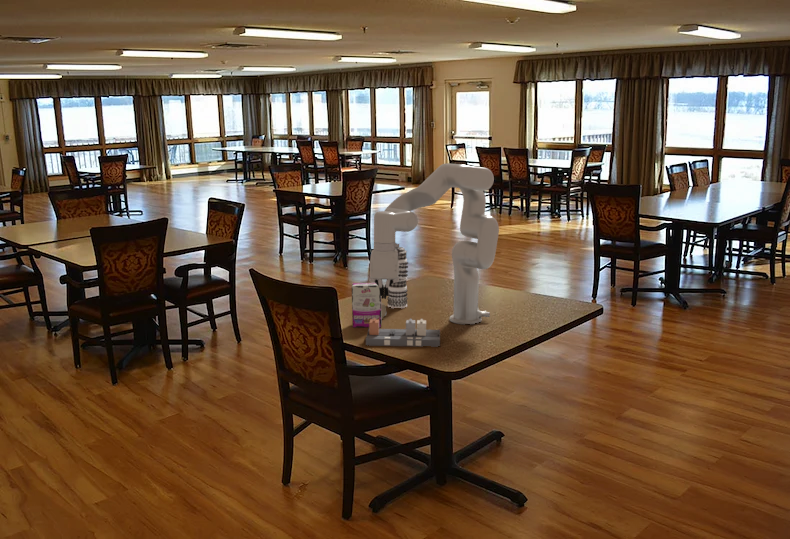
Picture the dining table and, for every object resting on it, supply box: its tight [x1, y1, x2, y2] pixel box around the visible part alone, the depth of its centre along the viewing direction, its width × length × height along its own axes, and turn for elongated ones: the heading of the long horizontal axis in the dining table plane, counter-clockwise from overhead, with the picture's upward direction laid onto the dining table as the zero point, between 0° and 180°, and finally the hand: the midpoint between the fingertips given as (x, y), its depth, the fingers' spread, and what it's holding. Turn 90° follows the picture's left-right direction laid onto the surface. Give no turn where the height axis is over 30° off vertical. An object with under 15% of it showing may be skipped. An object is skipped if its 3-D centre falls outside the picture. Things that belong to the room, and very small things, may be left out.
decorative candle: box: [386, 246, 409, 309], centre depth 304 cm, size 9×9×25 cm
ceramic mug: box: [381, 301, 387, 319], centre depth 289 cm, size 11×8×8 cm
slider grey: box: [405, 318, 416, 336], centre depth 259 cm, size 3×4×5 cm
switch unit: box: [365, 328, 441, 348], centre depth 260 cm, size 26×12×3 cm, turn 86°
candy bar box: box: [351, 282, 383, 328], centre depth 277 cm, size 11×5×16 cm, turn 90°
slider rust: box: [368, 318, 380, 335], centre depth 260 cm, size 3×4×5 cm
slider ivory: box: [416, 318, 427, 336], centre depth 259 cm, size 3×4×5 cm
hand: (383, 297), depth 257 cm, fingers closed
